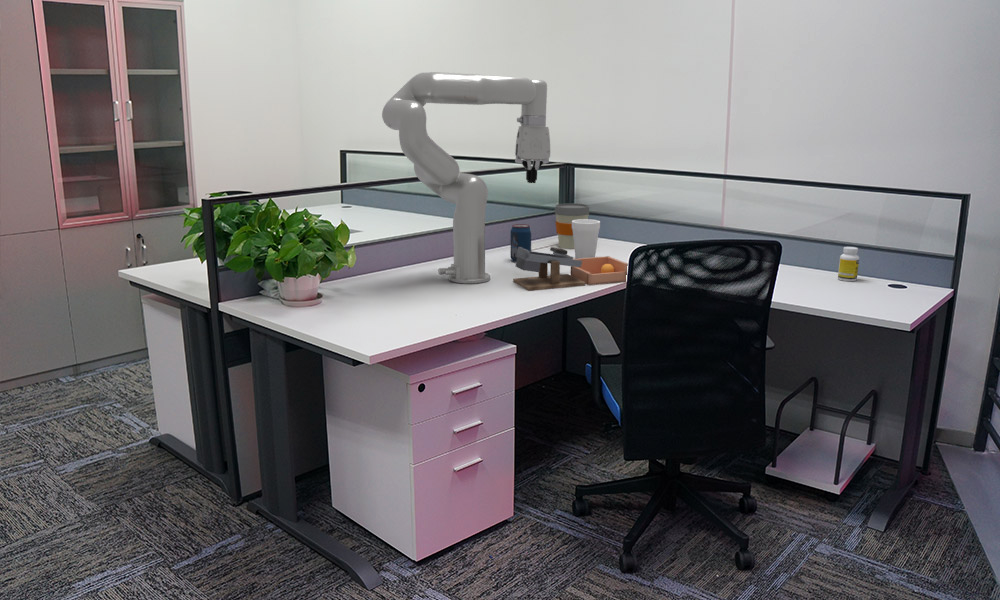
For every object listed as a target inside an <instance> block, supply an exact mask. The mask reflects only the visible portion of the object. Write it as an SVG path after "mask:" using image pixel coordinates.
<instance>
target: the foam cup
mask: <svg viewBox="0 0 1000 600" xmlns="http://www.w3.org/2000/svg"><path fill="white" fill-rule="evenodd" d="M600 229H601V221H600V220H597V219H589V218H588V219H578V220H573V221H572V230H573V239H574V248H575V249H574V255H575V259H580V258H592V257H596V252H597V245H598V240H599V232H600Z"/></svg>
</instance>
